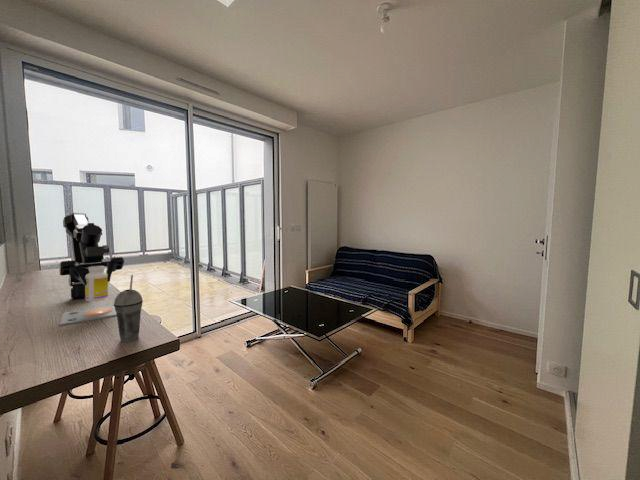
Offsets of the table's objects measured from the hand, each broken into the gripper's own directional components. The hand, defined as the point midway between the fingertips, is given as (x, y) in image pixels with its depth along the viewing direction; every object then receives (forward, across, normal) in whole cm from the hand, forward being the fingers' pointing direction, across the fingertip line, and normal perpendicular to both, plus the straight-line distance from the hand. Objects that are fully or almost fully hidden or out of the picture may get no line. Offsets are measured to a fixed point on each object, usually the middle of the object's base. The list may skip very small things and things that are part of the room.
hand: (97, 283), depth 97 cm
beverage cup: (+32, +2, -14) cm, 35 cm away
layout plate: (+8, -2, +10) cm, 13 cm away
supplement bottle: (+4, 0, +6) cm, 7 cm away
